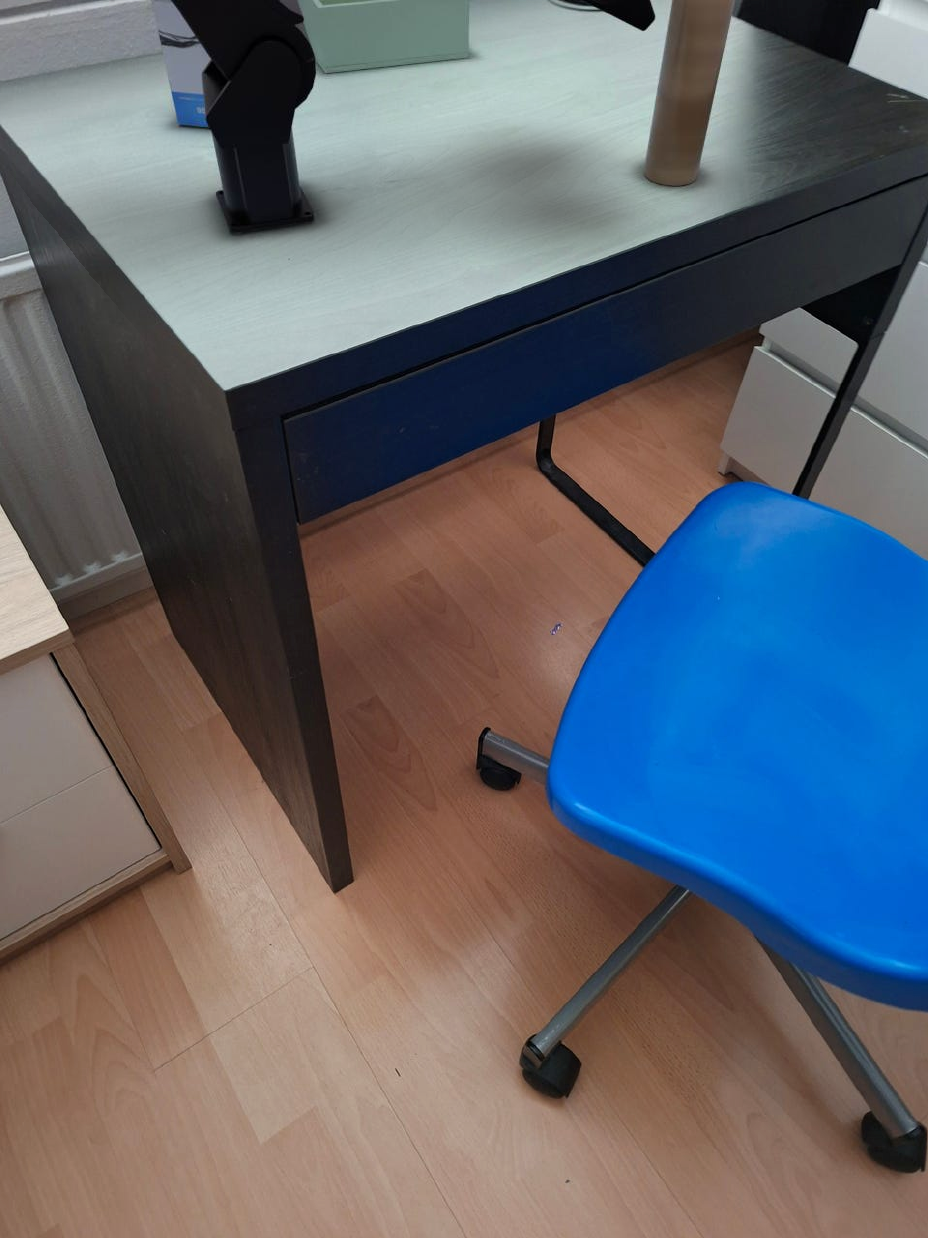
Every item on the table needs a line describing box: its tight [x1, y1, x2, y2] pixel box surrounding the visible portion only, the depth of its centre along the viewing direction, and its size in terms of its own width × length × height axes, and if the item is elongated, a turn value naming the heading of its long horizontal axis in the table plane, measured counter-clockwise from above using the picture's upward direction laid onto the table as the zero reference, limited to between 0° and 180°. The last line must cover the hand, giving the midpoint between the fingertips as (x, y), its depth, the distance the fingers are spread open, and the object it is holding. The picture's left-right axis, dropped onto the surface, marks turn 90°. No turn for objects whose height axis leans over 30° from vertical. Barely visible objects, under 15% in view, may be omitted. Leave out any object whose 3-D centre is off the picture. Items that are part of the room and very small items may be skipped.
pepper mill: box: [643, 0, 736, 187], centre depth 65 cm, size 4×4×15 cm
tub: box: [298, 0, 470, 74], centre depth 88 cm, size 15×15×6 cm
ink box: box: [150, 0, 211, 128], centre depth 73 cm, size 8×5×12 cm, turn 168°
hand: (626, 3), depth 60 cm, fingers open, 9 cm apart
